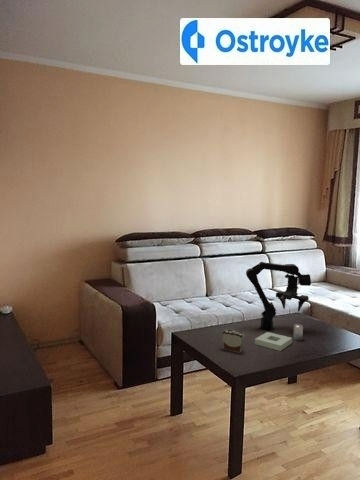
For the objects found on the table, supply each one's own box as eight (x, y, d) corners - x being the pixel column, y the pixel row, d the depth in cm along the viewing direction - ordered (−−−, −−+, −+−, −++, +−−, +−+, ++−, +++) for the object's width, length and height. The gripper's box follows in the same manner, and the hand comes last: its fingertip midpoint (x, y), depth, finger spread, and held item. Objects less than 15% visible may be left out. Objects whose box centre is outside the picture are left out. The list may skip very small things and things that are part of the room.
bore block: (254, 344, 217) (254, 338, 217) (267, 336, 229) (267, 331, 228) (280, 351, 208) (280, 345, 207) (291, 343, 219) (292, 337, 219)
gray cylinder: (291, 339, 225) (292, 325, 225) (295, 336, 229) (295, 323, 228) (300, 341, 222) (301, 327, 221) (303, 338, 226) (304, 325, 225)
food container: (247, 349, 209) (247, 331, 208) (242, 353, 204) (243, 334, 203) (225, 345, 215) (226, 327, 214) (221, 348, 210) (221, 330, 209)
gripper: (272, 285, 239) (271, 310, 240) (302, 289, 227) (301, 316, 229) (280, 282, 247) (279, 306, 249) (309, 286, 236) (308, 312, 237)
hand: (291, 310), depth 241 cm, fingers open, 9 cm apart
